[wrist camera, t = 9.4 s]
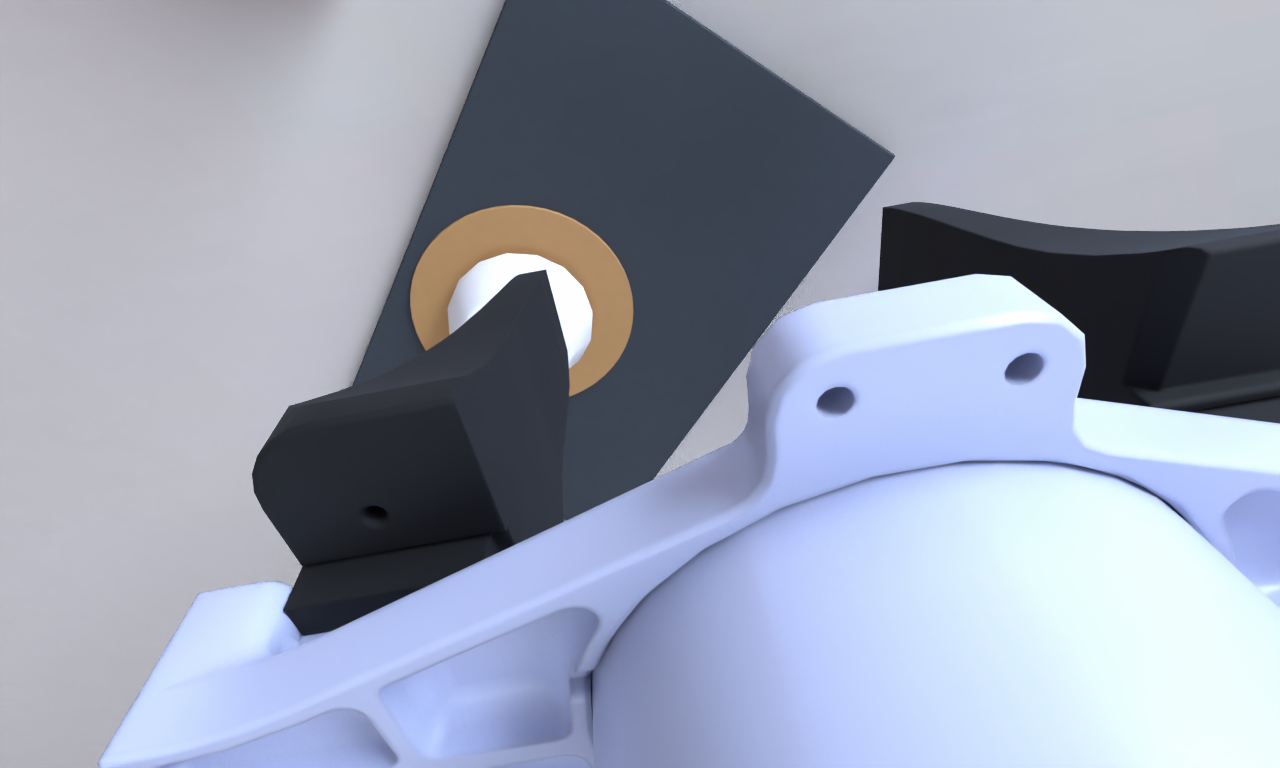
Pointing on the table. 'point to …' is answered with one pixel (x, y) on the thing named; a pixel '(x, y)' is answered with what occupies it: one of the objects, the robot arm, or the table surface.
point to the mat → (631, 213)
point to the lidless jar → (501, 269)
